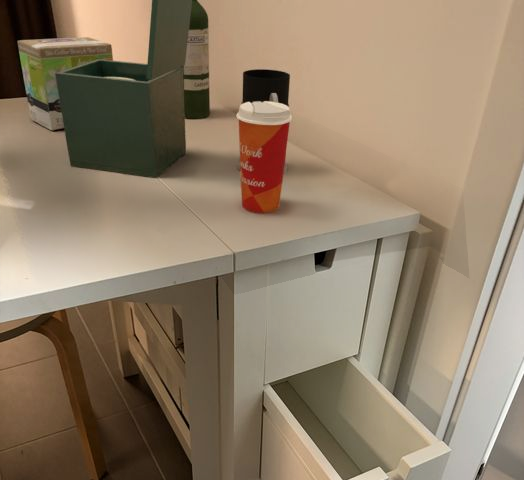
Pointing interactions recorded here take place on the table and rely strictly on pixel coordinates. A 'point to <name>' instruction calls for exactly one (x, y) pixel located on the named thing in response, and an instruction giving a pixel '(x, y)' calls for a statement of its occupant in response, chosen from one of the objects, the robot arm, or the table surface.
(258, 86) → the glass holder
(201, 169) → the table surface
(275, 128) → the paper cup
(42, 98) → the tea box
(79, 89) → the dark green square box
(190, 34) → the wine bottle
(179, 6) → the lid
